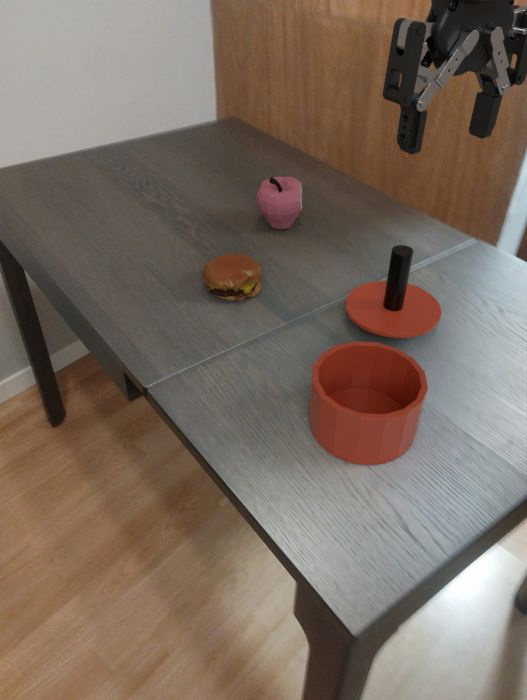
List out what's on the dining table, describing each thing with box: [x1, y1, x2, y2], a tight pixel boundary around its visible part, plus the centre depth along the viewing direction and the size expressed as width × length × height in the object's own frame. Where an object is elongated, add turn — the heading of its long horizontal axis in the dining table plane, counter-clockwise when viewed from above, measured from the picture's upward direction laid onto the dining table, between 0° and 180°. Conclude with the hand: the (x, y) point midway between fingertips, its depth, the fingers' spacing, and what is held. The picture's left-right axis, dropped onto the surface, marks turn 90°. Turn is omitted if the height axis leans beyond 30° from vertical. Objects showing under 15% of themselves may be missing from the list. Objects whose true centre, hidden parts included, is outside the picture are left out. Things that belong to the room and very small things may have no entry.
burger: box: [201, 253, 263, 302], centre depth 85 cm, size 10×9×5 cm
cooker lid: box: [345, 244, 442, 339], centre depth 74 cm, size 13×13×10 cm
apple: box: [255, 176, 303, 230], centre depth 99 cm, size 10×9×10 cm
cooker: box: [309, 340, 429, 466], centre depth 61 cm, size 12×12×8 cm
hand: (445, 143), depth 50 cm, fingers open, 8 cm apart
